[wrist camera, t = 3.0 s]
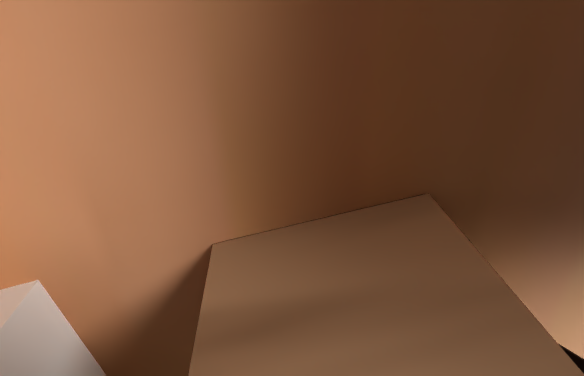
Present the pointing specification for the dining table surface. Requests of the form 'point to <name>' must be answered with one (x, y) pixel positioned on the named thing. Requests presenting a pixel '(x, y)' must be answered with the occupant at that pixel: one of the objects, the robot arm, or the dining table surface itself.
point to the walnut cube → (366, 303)
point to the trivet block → (39, 336)
